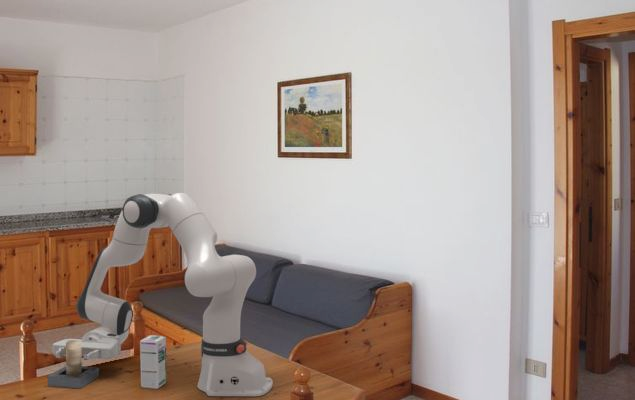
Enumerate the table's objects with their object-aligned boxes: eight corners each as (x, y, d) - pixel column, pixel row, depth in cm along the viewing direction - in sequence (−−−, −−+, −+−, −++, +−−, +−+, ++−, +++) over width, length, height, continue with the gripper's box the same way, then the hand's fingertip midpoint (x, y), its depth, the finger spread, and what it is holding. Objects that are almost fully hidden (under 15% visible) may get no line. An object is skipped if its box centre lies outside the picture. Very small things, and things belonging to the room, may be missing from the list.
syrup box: (158, 389, 186) (158, 340, 185) (139, 387, 187) (139, 339, 186) (166, 382, 191) (166, 335, 190) (148, 381, 192) (148, 334, 192)
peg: (84, 379, 193) (84, 341, 193) (76, 384, 189) (76, 345, 188) (71, 378, 194) (71, 340, 193) (63, 383, 190) (62, 344, 189)
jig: (98, 376, 196) (98, 367, 196) (80, 388, 185) (80, 378, 185) (67, 374, 198) (67, 365, 197) (47, 386, 187) (47, 376, 187)
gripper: (66, 332, 205) (40, 343, 192) (124, 335, 202) (102, 348, 188) (66, 351, 206) (40, 364, 192) (124, 355, 202) (102, 368, 189)
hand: (71, 356), depth 190 cm, fingers open, 8 cm apart
